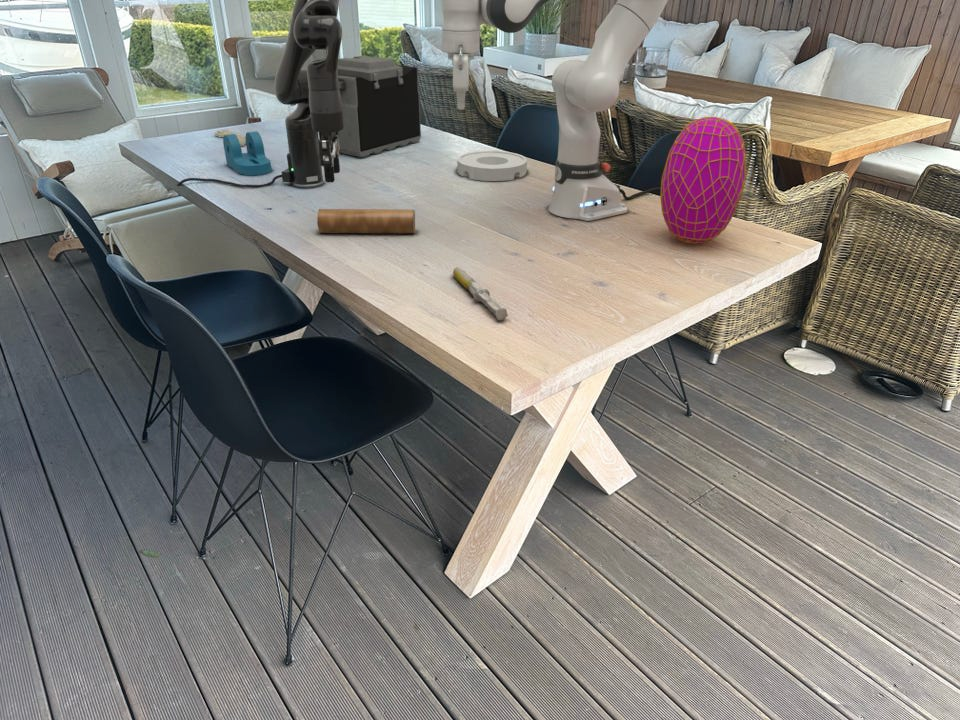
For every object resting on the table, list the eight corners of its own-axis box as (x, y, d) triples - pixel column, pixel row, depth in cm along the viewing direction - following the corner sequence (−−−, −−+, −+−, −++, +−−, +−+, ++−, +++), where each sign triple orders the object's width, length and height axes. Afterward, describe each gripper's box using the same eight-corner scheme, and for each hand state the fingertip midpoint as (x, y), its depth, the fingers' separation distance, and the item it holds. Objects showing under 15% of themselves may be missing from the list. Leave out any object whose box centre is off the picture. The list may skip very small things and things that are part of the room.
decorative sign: (264, 139, 260) (239, 143, 254) (265, 142, 261) (240, 146, 255) (233, 128, 277) (209, 131, 271) (233, 130, 277) (209, 134, 271)
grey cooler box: (383, 133, 276) (378, 52, 261) (425, 141, 265) (422, 56, 250) (314, 150, 251) (304, 61, 235) (358, 160, 240) (350, 67, 224)
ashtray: (459, 161, 239) (459, 150, 237) (525, 163, 239) (526, 151, 237) (455, 180, 219) (455, 167, 217) (527, 181, 219) (528, 169, 217)
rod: (318, 236, 175) (316, 213, 172) (323, 228, 180) (320, 205, 177) (413, 236, 176) (413, 214, 173) (415, 228, 181) (414, 206, 178)
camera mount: (227, 164, 233) (221, 132, 227) (257, 160, 238) (252, 129, 233) (244, 176, 220) (239, 143, 215) (276, 172, 225) (271, 139, 220)
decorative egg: (709, 261, 163) (734, 131, 148) (638, 240, 174) (655, 118, 159) (744, 240, 175) (770, 118, 160) (676, 222, 187) (694, 107, 171)
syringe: (449, 274, 155) (449, 263, 153) (465, 272, 156) (464, 260, 154) (490, 323, 135) (491, 310, 133) (508, 319, 136) (508, 307, 134)
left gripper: (337, 115, 156) (343, 185, 165) (346, 103, 169) (352, 169, 177) (304, 114, 156) (312, 185, 164) (315, 103, 169) (322, 169, 177)
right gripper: (474, 48, 152) (474, 113, 159) (474, 38, 170) (473, 97, 177) (446, 48, 152) (447, 113, 159) (448, 38, 170) (449, 97, 177)
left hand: (332, 177), depth 171 cm, fingers open, 8 cm apart
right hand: (461, 105), depth 168 cm, fingers open, 8 cm apart
